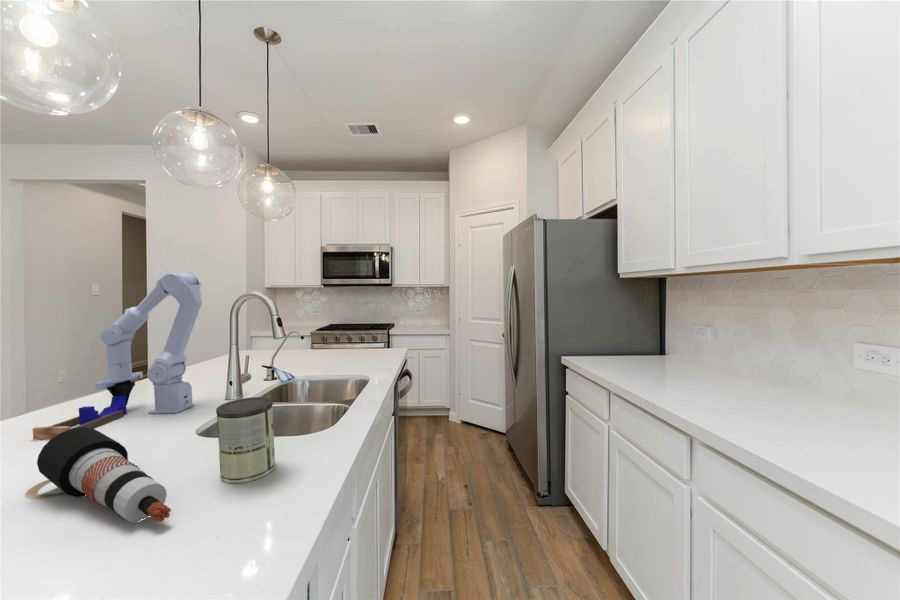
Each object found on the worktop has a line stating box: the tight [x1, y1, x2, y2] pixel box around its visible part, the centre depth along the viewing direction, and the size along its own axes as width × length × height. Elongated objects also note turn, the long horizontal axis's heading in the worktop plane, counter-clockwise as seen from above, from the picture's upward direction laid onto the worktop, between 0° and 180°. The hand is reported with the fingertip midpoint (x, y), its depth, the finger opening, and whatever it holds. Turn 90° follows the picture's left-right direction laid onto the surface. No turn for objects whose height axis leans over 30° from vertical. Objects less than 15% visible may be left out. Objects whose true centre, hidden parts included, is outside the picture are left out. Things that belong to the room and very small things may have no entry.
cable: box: [36, 427, 171, 524], centre depth 69 cm, size 10×34×10 cm, turn 59°
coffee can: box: [215, 396, 277, 485], centre depth 79 cm, size 10×10×14 cm
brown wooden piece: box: [32, 410, 125, 441], centre depth 109 cm, size 9×17×3 cm, turn 178°
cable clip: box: [78, 396, 128, 425], centre depth 114 cm, size 12×4×6 cm, turn 0°
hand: (122, 406), depth 122 cm, fingers closed
